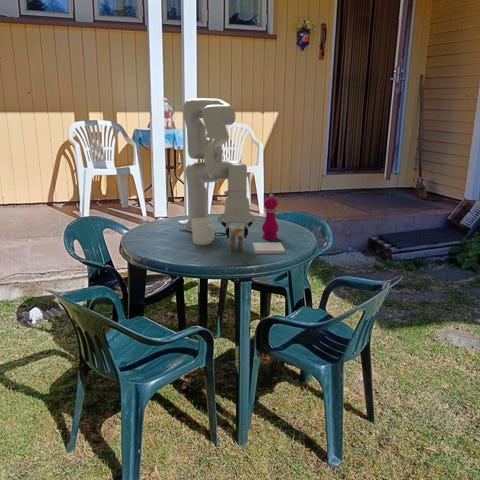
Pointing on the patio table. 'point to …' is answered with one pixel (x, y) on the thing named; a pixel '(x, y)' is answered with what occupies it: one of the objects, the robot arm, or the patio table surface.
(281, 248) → the tile
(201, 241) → the cup
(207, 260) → the patio table surface
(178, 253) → the patio table surface
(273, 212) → the pepper mill
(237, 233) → the pegged wooden block
